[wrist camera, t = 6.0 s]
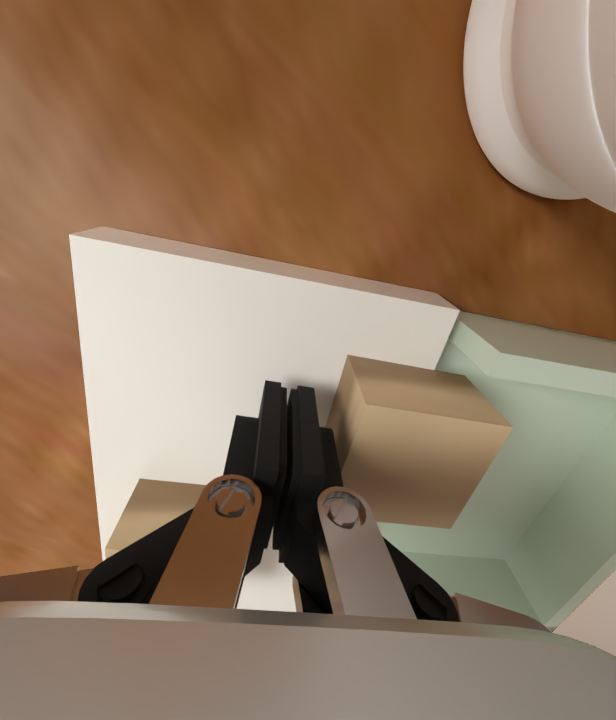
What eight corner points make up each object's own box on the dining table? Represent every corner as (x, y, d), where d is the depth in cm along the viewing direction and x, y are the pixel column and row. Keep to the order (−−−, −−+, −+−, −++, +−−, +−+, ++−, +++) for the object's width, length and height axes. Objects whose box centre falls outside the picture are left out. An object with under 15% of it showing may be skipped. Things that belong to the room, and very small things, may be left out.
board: (103, 226, 11) (69, 234, 9) (436, 292, 13) (460, 310, 11) (124, 579, 20) (108, 617, 18) (320, 591, 22) (324, 627, 20)
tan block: (139, 478, 14) (104, 548, 11) (250, 489, 14) (242, 558, 12) (141, 547, 16) (111, 621, 13) (238, 554, 16) (228, 626, 14)
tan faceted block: (347, 354, 12) (366, 404, 9) (464, 375, 12) (513, 427, 10) (317, 452, 14) (325, 516, 11) (420, 465, 14) (450, 528, 12)
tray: (443, 307, 13) (500, 352, 10) (664, 350, 15) (783, 403, 11) (346, 547, 20) (358, 626, 16) (505, 560, 21) (549, 635, 18)
